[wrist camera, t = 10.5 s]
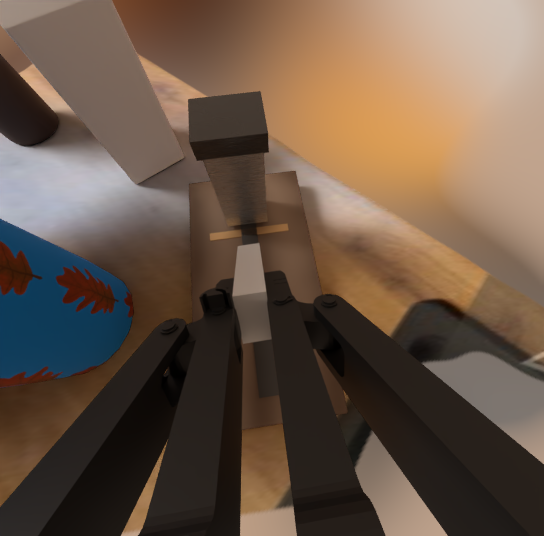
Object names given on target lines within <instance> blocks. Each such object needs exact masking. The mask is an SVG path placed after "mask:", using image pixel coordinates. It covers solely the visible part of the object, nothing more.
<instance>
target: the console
mask: <svg viewBox="0 0 544 536" xmlns="http://www.w3.org/2000/svg"><path fill="white" fill-rule="evenodd" d="M265 185H266V202H267V219H268V222H261V223H254V224H246V225H238V226H230V227H228V225H227V222H226V219H225V217H224V214H223V211H222V209H221V206H220V204H219V201H218V198H217V196H216V193H215V190H214V188H213V185H212V183H211V181H209V182H201V183H192V184H189V203H190V242H191V282H192V321H193V322H195V321H198V320H200V319H201V318H202V317H203V314H204V312H203V309H202V306H201V303H200V299H199V297H200V295H201V294H202V293H204V292H205V291H207V290H209V289H212V288H216V284H217V283H218V282H219V281H220V280H222V279H229V278H234V276H235V267H236V258H237V249H238V246H242V245H249V244H256V243H259V245H260V252H261V258H262V265H263V271H264V273H265V272H271V271H278V270H281V271H282V272H284V273H285V275H286V278H287V281H288V284H289V287H290V290H291V293H292V295H293V296H294V297H295V298H296V300H297V301H299V302H303V303H314V299H315V298H316V297H318V296H320V295H322V291H321V286H320V282H319V277H318V272H317V268H316V263H315V259H314V254H313V249H312V245H311V240H310V236H309V231H308V226H307V222H306V217H305V213H304V208H303V203H302V199H301V194H300V190H299V185H298V180H297V176H296V171H290V172H282V173H274V174H266V175H265ZM241 345H242V349H243V389H242V430H244V429H251V428H257V427H263V426H269V425H276V424H282V423H283V421H282V413H281V406H280V398H279V391H278V383H277V376H276V368H275V361H274V353H273V346H272V339H270V340H264V341H257V342H251V343H245V344H243V342H242V337H241ZM313 350H314V353H315V356H316V359H317V362H318V365H319V368H320V370H321V373H322V376H323V379H324V382H325V385H326V388H327V391H328V394H329V397H330V399H331V402H332V405H333V408H334V411H335V414H336V415H338V414H344V413H348V410H347V406H346V401H345V397H344V392H343V388H342V387H341V386H340V384H339V383H338V381H337V380H336V379H335V377H334V376H333V374H332V373H331V372H330V370H329V369H328V367H327V366H326V365H325V363H324V362H323V360H322V359H321V358H320V356H319V355H318V353H317V351H316V349H313Z"/></svg>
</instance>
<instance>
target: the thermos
mask: <svg viewBox="0 0 544 536" xmlns="http://www.w3.org/2000/svg"><path fill="white" fill-rule="evenodd" d="M133 313H134V310H133V303H132V295H131V294H130V292H129V290H128V289H127V287H126V285H125V284H124V282H122V281H121V280H119V279H118V278H117V277H115V276H114V275H112V274H110V273H109V272H107V271H105V270H103V269H102V268H100V267H98V266H96V265H94V264H93V263H91V262H89V261H87V260H86V259H84V258H82V257H79V256H77V255H75V254H73V253H71V252H69V251H67V250H65V249H63V248H61V247H58V246H56V245H54V244H52V243H50V242H48V241H46V240H44V239H42V238H40V237H37V236H35V235H33V234H31V233H29V232H27V231H25V230H23V229H21V228H19V227H16V226H14V225H12V224H10V223H8V222H6V221H4V220H2V219H0V388H3V387H10V386H17V385H24V384H30V383H37V382H43V381H49V380H54V379H59V378H64V377H69V376H74V375H79V374H84V373H86V372H88V371H90V370H92V369H94V368H96V367H98V366H100V365H101V364H103V363H105V362H106V361H107V360H108V359H109V358H110V357H111V356H112V355H113V354H114V353H115V352H116V351H117V350H118V349H119V348H120V346H121V344H122V343H123V341H124V339H125V338H126V336H127V334H128V332H129V331H130V327H131V322H132V317H133Z"/></svg>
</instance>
